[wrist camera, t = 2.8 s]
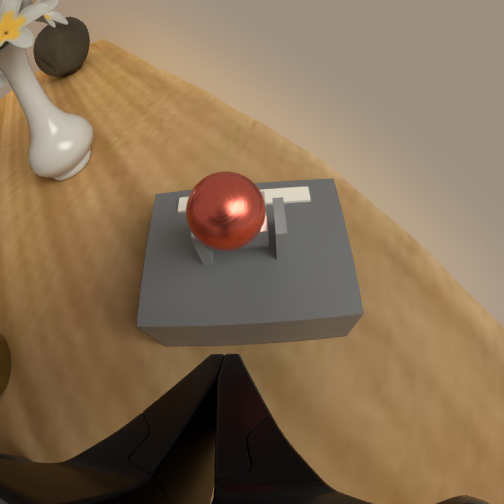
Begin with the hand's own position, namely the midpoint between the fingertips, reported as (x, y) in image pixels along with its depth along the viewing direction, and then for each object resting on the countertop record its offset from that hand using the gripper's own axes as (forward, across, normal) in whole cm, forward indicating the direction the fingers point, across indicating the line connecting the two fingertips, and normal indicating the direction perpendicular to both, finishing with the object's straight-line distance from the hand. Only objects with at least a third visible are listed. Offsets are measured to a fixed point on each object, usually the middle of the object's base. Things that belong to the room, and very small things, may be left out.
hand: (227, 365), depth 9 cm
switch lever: (+10, 0, -2) cm, 10 cm away
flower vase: (+27, +22, -9) cm, 36 cm away
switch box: (+14, 0, +3) cm, 15 cm away
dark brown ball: (+54, +41, -36) cm, 77 cm away
